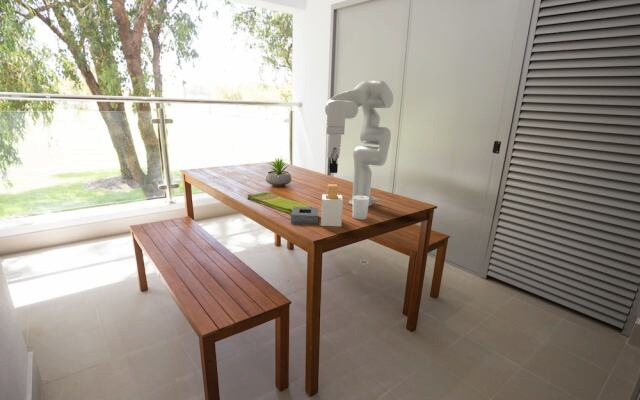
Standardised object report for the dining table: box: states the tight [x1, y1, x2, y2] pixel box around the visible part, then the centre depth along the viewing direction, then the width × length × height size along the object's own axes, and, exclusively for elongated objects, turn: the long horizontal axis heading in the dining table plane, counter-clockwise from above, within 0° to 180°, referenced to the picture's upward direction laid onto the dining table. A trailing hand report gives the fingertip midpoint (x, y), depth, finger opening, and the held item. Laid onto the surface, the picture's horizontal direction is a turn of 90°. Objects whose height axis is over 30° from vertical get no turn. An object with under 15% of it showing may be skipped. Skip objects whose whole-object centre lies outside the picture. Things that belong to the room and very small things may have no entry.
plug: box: [327, 183, 338, 199], centre depth 146 cm, size 4×4×9 cm
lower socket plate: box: [290, 206, 319, 225], centre depth 152 cm, size 12×12×4 cm
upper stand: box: [320, 193, 344, 227], centre depth 148 cm, size 9×9×12 cm
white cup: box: [351, 195, 369, 220], centre depth 156 cm, size 8×8×10 cm
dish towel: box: [247, 191, 312, 215], centre depth 175 cm, size 15×36×3 cm, turn 48°
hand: (333, 170), depth 142 cm, fingers open, 9 cm apart
